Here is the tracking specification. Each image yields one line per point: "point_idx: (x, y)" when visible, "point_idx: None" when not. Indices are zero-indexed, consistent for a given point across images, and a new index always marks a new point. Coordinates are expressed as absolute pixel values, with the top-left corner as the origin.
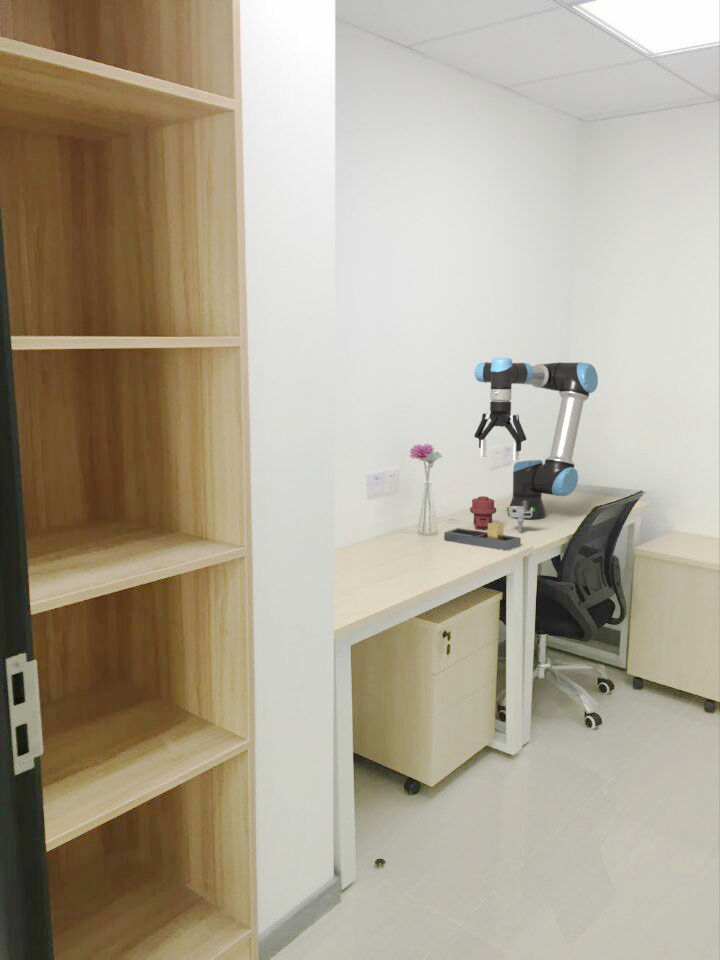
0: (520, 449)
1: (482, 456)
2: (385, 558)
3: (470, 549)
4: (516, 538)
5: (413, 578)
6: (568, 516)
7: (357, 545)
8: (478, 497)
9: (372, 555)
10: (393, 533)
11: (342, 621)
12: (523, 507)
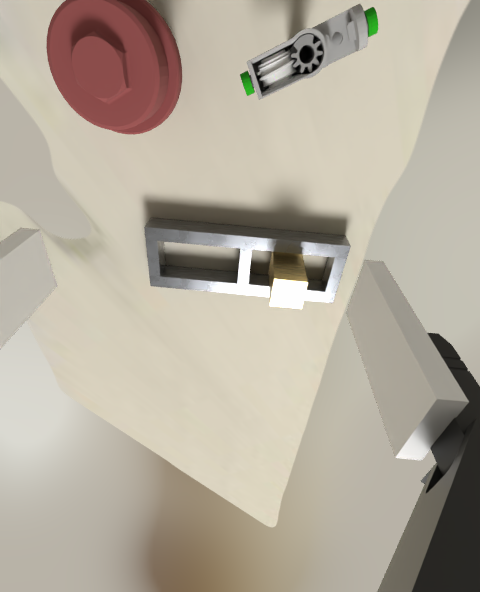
0: (446, 357)
1: (52, 289)
2: (162, 409)
3: (250, 314)
4: (341, 259)
5: (255, 452)
6: None
7: (63, 374)
8: (83, 88)
9: (134, 405)
10: None
11: (268, 526)
12: (323, 61)
